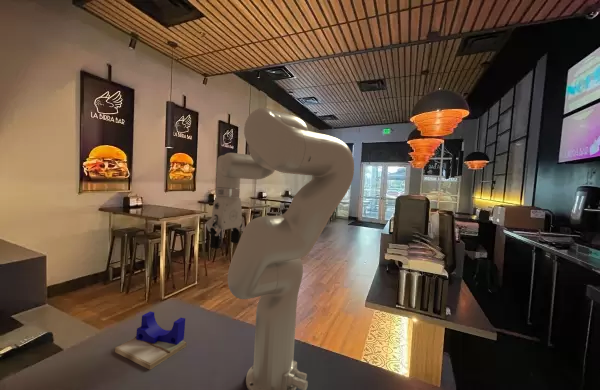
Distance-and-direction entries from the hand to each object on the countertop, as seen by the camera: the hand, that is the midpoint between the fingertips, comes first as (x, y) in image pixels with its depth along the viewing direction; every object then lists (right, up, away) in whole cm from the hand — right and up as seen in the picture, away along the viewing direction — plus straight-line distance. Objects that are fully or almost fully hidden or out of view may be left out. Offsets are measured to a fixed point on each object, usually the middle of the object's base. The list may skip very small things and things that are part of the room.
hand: (225, 245), depth 87 cm
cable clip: (-15, -25, -12) cm, 31 cm away
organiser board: (-16, -26, -14) cm, 34 cm away
